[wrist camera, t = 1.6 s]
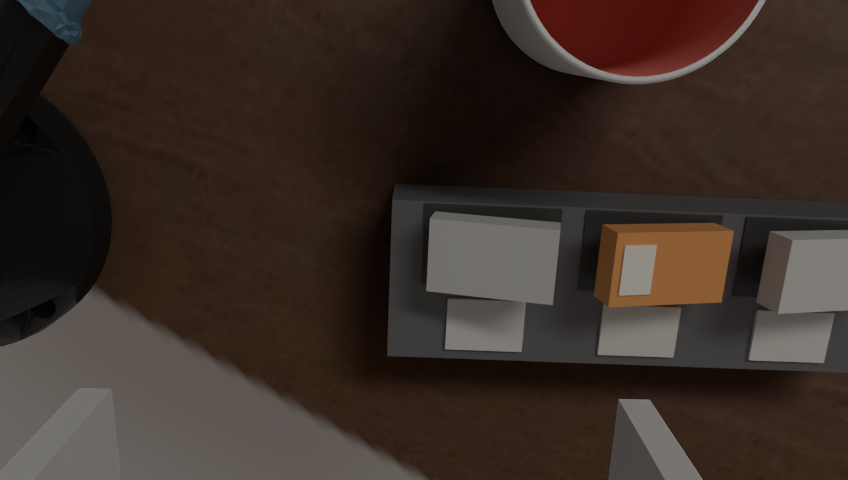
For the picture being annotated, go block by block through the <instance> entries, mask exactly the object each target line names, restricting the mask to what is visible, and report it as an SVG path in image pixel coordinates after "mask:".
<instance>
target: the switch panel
mask: <svg viewBox="0 0 848 480" xmlns="http://www.w3.org/2000/svg"><path fill="white" fill-rule="evenodd" d="M436 211H437V212H448V213H459V214H470V215H481V216H492V217H503V218H514V219H525V220H536V221H547V222H558V223H561V229H560V240H559V249H558V259H557V269H556V278H555V288H554V298H553V305H546V304H537V303H528V302H519V301H510V300H501V299H492V298H483V297H474V296H465V295H457V294H448V293H439V292H430V291H426V287H427V266H428V246H429V225H430V218H431V216H432V215H433V214H434V213H435V212H436ZM670 223H716V224H718V225H721V226H723V227H726V228H728V229H730V230H733V231H734V234H733V240H732V245H731V251H730V257H729V262H728V268H727V274H726V279H725V285H724V291H723V296H722V302H720V303H697V304H675V305H652V306H629V307H607V306H606V305H605V304H603V303H602V302H601V301H600V300H598V299H597V298H596V297H595V296H594V291H595V283H596V274H597V266H598V258H599V249H600V241H601V233H602V225H603V224H670ZM815 230H848V203H844V202H820V201H796V200H773V199H749V198H725V197H701V196H677V195H654V194H630V193H606V192H582V191H559V190H535V189H511V188H487V187H463V186H440V185H416V184H395V185H394V192H393V198H392V223H391V254H390V284H389V314H388V344H387V356H399V357H427V358H455V359H482V360H510V361H538V362H565V363H593V364H621V365H648V366H676V367H704V368H731V369H759V370H787V371H814V372H842V373H848V310H846V311H826V312H805V313H785V314H777V313H775V312H773V311H772V310H770V309H768V308H766V307H764V306H762V305H760V304H759V303H757V302H756V301H757V296H758V291H759V285H760V280H761V275H762V270H763V264H764V259H765V254H766V249H767V243H768V238H769V233H770V231H815Z"/></svg>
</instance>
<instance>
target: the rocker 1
mask: <svg viewBox="0 0 848 480" xmlns="http://www.w3.org/2000/svg"><path fill="white" fill-rule="evenodd" d="M560 229H561V223H558V222H547V221H536V220H525V219H514V218H503V217H492V216H481V215H470V214H459V213H448V212H437V211H436V212H435V213H434V214H433V215H432V216H431V218H430V225H429V246H428V266H427V287H426V291H430V292H439V293H448V294H457V295H465V296H474V297H483V298H492V299H501V300H510V301H519V302H528V303H537V304H546V305H553V298H554V288H555V278H556V269H557V259H558V249H559V240H560Z"/></svg>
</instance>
